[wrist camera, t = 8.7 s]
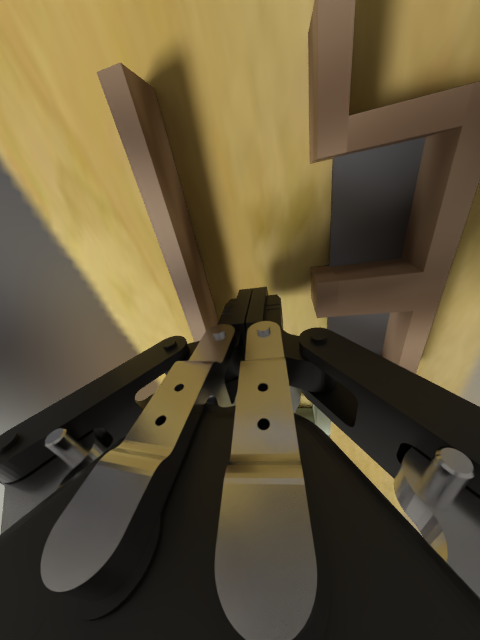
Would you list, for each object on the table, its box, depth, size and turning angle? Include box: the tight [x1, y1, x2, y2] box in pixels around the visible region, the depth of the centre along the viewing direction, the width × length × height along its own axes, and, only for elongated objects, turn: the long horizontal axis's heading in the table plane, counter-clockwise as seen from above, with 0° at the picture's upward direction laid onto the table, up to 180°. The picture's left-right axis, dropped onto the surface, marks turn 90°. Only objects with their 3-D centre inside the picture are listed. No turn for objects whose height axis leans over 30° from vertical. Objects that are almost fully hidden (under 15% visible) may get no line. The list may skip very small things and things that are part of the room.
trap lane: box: [97, 0, 480, 437], centre depth 13 cm, size 23×13×2 cm, turn 10°
